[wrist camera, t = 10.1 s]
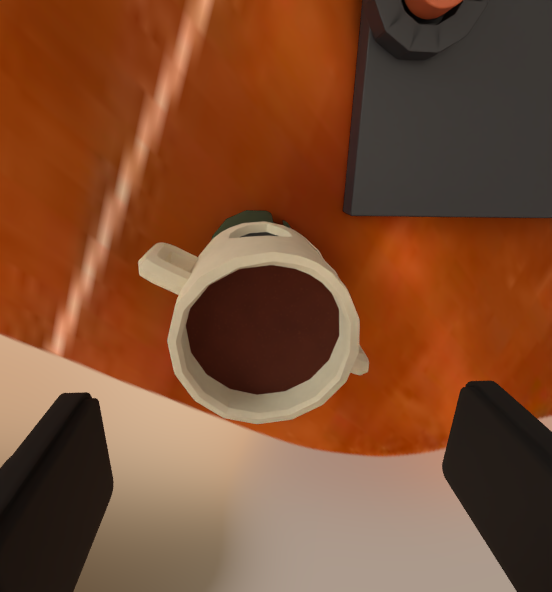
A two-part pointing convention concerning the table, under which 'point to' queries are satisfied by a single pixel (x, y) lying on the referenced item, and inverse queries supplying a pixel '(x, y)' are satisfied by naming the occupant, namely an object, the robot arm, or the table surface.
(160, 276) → the character mug
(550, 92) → the scale
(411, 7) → the button
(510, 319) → the table surface
